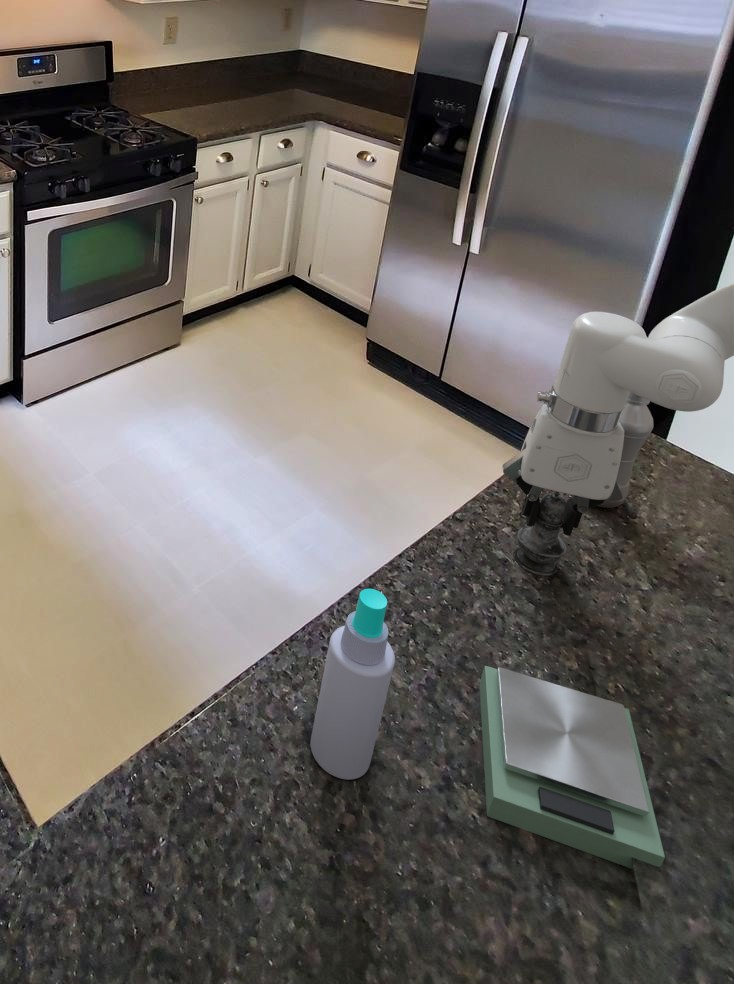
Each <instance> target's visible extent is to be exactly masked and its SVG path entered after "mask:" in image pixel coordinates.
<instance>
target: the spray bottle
mask: <svg viewBox="0 0 734 984" xmlns="http://www.w3.org/2000/svg"><path fill="white" fill-rule="evenodd" d="M387 607H388V599H387V597H386V596H385V595H384V594H383V593H382V592H381V591H379V590H377V589H374V588H364V589H362V590H361V591H360V592H359V596H358V599H357V604H356V608H355V611H352V612H350V613H349V614H348V616H347V618H346V621H345V623H344V625H341V626H339V627H338V628H336V629H335V630H334V631H333V632H332V634H331V636H330V638H329V642H328V648H327V653H326V658H325V664H324V669H323V674H322V678H321V679H322V680H321V685H320V688H319V695H318V700H317V705H316V710H315V714H314V715H315V716H314V720H313V726H312V731H311V735H310V750H311V751H310V752H311V753H312V756H313V758H314V760H315V761H316V763H317V765H318V766H319V767H321V768H322V769H323V770H324V771H325V772H326V773H327V774H329V775H331V776H333V777H335V778H337V779H342V780H346V781H347V780H356V779H359V778H361V777H363V776H364V775H365V774H366V773H367V772H368V770H369V768H370V765H371V761H372V758H373V754H374V749H375V745H376V741H377V738H378V733H379V730H380V725H381V722H382V717H383V713H384V708H385V704H386V700H387V697H388V692H389V688H390V684H391V680H392V676H393V672H394V668H395V664H396V656H395V651H394V648H393V647H392V646H391V644H390V643H389V641H388V638H389V627H388V625H387V624H386V622H385V617H386V612H387Z"/></svg>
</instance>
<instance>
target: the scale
mask: <svg viewBox="0 0 734 984" xmlns="http://www.w3.org/2000/svg"><path fill="white" fill-rule="evenodd" d="M497 669H498V668H495V667H491V666H488V665H484V667H483V670H482V674H481V677H480V680H479V684H478V687H479V702H480V703H479V704H480V717H481V722H480V723H481V735H482V736H481V738H482V754H483V770H484V771H483V772H484V773H483V774H484V789H485V805H486V807H485V808H486V816H487V817H488V818H491V819H494V820H497V821H499V822H502V823H505V824H508V825H510V826H513V827H516V828H519V829H521V830H523V831H526V832H529V833H532V834H535V835H537V836H540V837H544V838H546V839H549V840H551V841H554V842H557V843H560V844H563V845H566V846H568V847H570V848H573V849H576V850H579V851H582V852H584V853H587V854H590V855H592V856H595V857H598V858H601V859H604V860H606V861H609V862H612V863H614V864H617V865H619V866H622V867H625V868H628V869H630V870H635V866H634V862H633V859H635V860H638V861H640V862H644V863H647V864H649V865H652V866H654V867H658V868H661V866H662V865H663V863H664V861H665V859H666V855H665V851H664V848H663V843H662V840H661V835H660V832H659V827H658V824H657V823H658V822H657V818H656V815H655V811H654V810H655V809H654V807H653V803H652V799H651V794H650V790H649V787H648V781H647V779H646V778H647V777H646V774H645V770H644V766H643V762H642V758H641V753H640V749H639V745H638V741H637V737H636V734H635V730H634V729H635V728H634V725H633V720H632V717H631V713H630V709H629V708H626V707H624V709H625V713H626V717H627V721H628V726H629V730H630V734H631V738H632V742H633V747H634V751H635V755H636V759H637V763H638V767H639V772H640V776H641V780H642V784H643V788H644V792H645V797H646V801H647V805H648V809H649V813H648V815H647V817H645V816H642V815H639V814H636V813H633V812H630V811H628V810H625V809H622V808H619V807H616V806H613V805H610V804H607V803H604V802H601V801H598V800H595V799H593V798H590V797H587V796H584V795H581V794H578V793H575V792H572V791H569V790H566V789H563V788H560V787H558V786H555V785H552V784H549V783H546V782H543V781H540V780H537V779H534V778H531V777H528V776H525V775H523V774H520V773H517V772H514V771H511V770H508V769H505V768H504V756H503V744H502V732H501V719H500V707H499V695H498V683H497Z"/></svg>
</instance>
